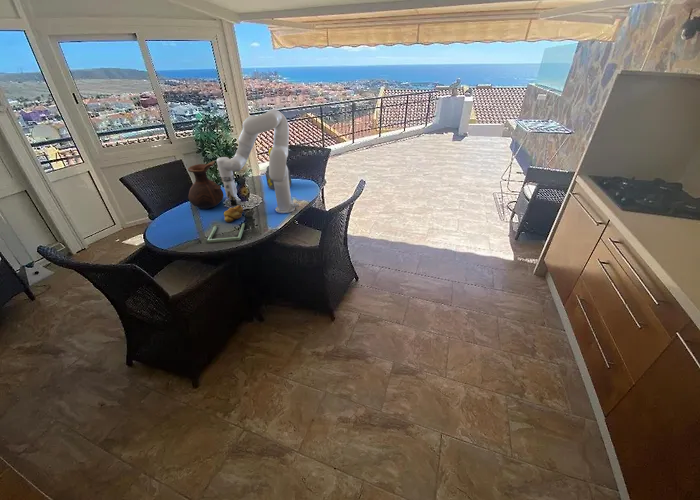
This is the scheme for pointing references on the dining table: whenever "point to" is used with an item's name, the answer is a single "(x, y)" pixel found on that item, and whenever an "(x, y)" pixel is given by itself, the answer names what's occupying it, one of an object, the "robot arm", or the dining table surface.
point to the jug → (204, 188)
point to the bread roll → (233, 213)
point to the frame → (224, 238)
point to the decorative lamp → (269, 181)
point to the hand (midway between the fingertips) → (234, 205)
